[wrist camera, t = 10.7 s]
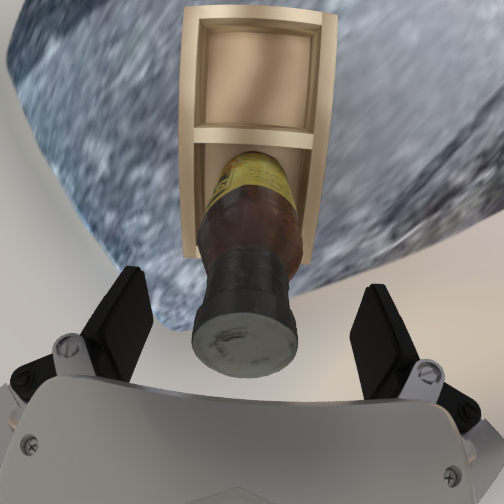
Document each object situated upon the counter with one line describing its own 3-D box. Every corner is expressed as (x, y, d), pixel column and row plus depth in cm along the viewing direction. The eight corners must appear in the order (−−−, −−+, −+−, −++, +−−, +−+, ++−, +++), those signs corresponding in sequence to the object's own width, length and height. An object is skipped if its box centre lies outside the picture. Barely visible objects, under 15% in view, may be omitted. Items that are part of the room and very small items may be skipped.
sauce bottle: (223, 146, 25) (145, 257, 8) (290, 152, 26) (353, 274, 8) (219, 210, 29) (168, 382, 11) (281, 216, 29) (308, 394, 12)
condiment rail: (321, 31, 20) (337, 15, 15) (301, 234, 31) (310, 264, 26) (199, 24, 20) (184, 7, 15) (196, 228, 31) (183, 257, 26)
